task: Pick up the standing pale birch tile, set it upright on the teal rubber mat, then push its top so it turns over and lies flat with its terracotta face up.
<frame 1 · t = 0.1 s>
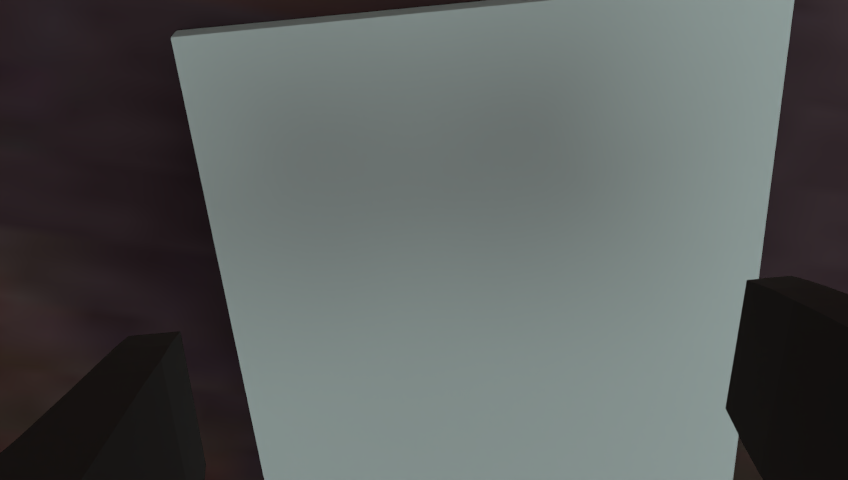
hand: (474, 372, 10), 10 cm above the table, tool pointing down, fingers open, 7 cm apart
mat: (499, 318, 22), on the table
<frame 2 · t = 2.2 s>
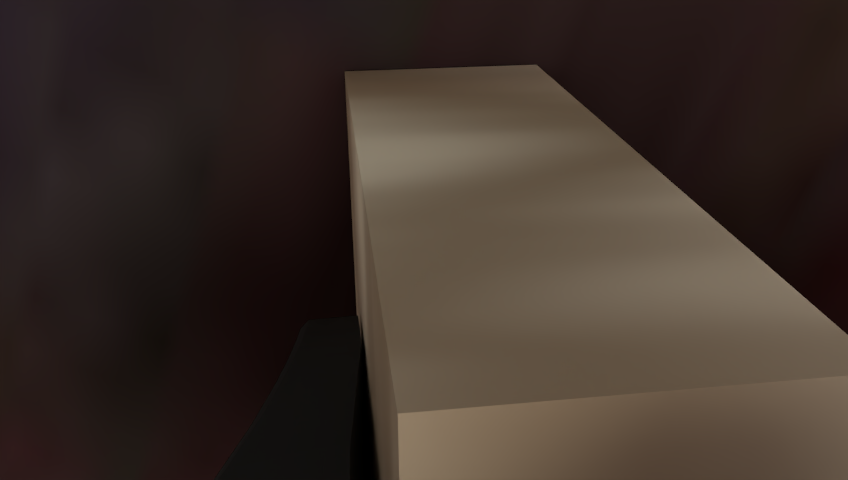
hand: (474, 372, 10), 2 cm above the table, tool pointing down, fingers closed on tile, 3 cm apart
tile: (440, 303, 12), on the table, touching gripper
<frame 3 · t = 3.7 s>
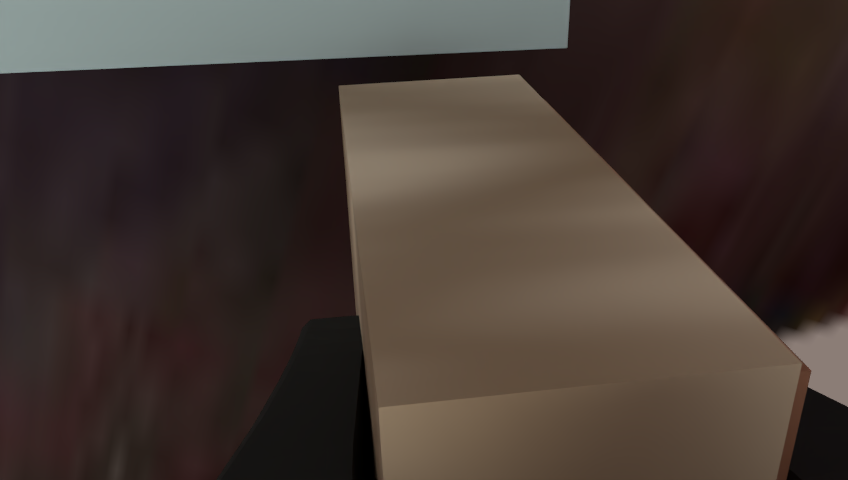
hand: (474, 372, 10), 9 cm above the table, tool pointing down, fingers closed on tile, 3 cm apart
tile: (435, 300, 12), point 6 cm above the table, touching gripper
when the fingers open (4 cm above the table, at t = 5.6 s): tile stays where it is, resting on mat.
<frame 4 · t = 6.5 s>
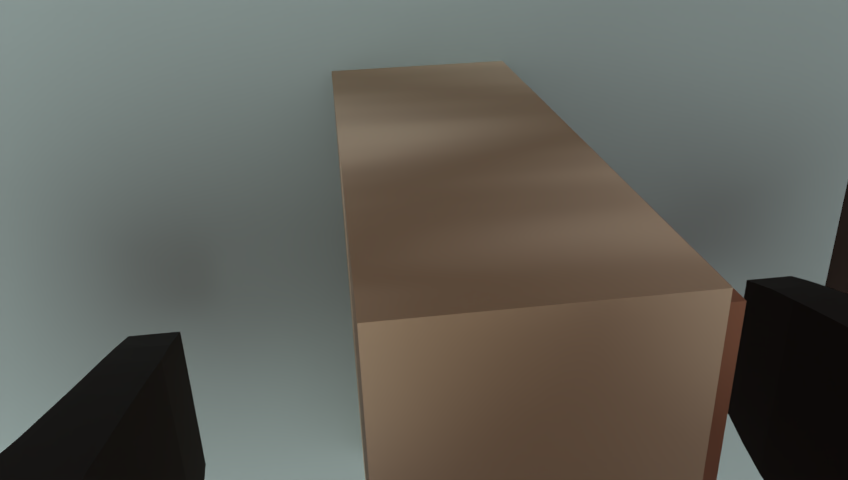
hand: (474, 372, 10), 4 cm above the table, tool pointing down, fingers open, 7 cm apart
mat: (342, 249, 13), on the table
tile: (425, 278, 13), point 1 cm above the table, touching mat
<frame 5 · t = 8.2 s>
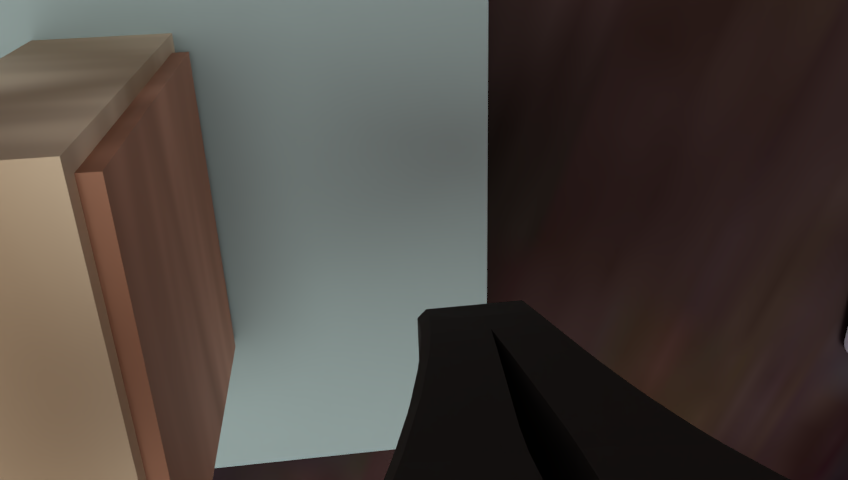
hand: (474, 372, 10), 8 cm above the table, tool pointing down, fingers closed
mat: (78, 190, 16), on the table
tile: (137, 212, 16), point 1 cm above the table, touching mat
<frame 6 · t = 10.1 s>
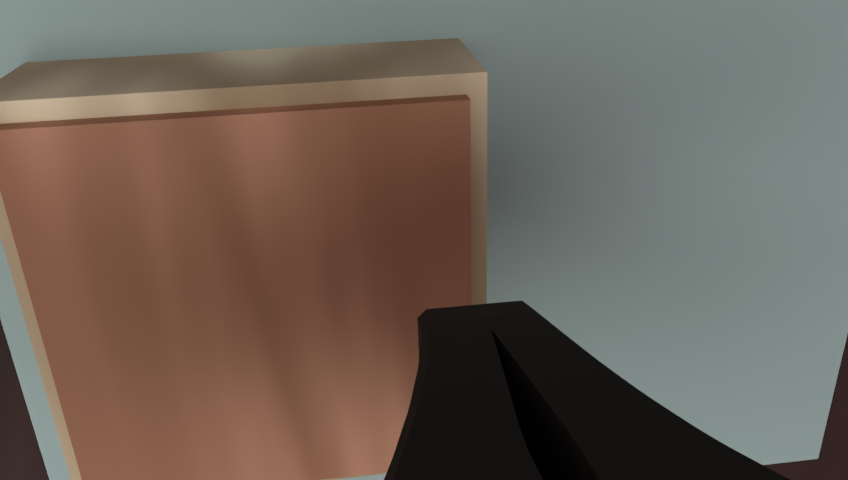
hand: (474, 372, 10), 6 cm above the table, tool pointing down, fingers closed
mat: (451, 197, 15), on the table
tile: (472, 256, 14), point 2 cm above the table, tilted 90°, touching mat
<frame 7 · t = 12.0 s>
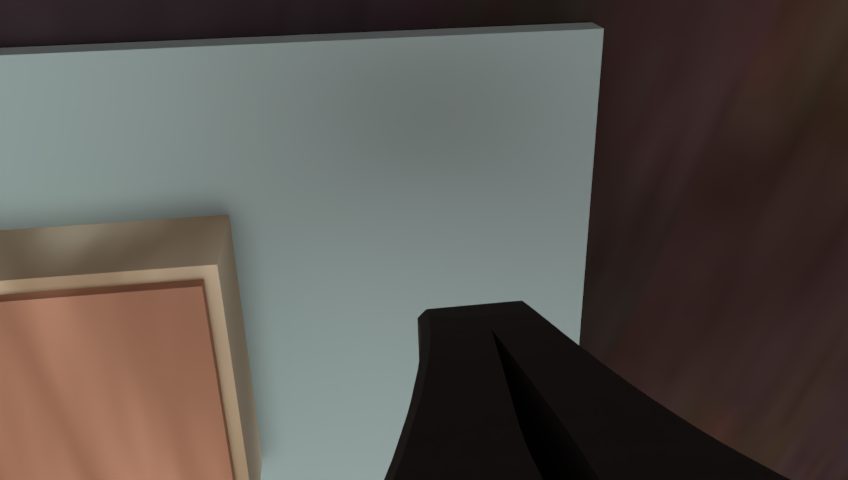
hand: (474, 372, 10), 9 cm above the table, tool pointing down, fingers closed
mat: (246, 319, 20), on the table
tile: (242, 374, 18), point 2 cm above the table, tilted 90°, touching mat
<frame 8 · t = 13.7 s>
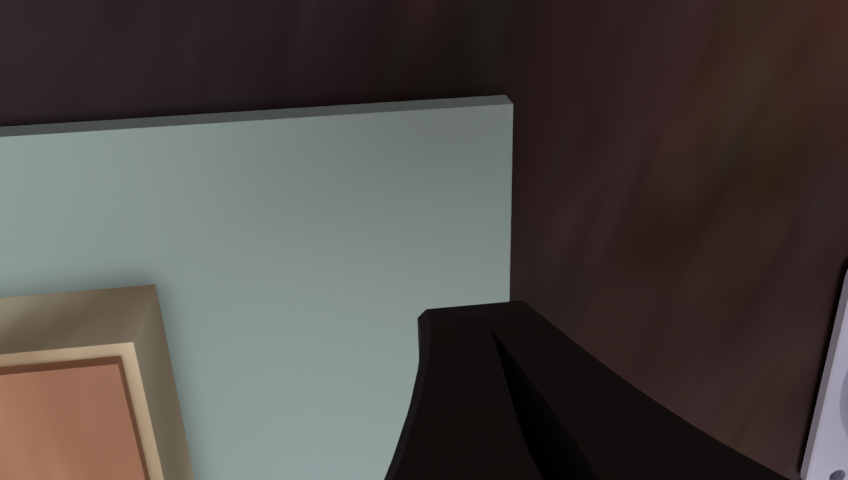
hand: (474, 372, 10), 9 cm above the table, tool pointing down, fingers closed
mat: (181, 379, 20), on the table
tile: (171, 438, 19), point 2 cm above the table, tilted 90°, touching mat
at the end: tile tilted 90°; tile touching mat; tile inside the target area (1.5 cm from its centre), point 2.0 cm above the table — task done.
